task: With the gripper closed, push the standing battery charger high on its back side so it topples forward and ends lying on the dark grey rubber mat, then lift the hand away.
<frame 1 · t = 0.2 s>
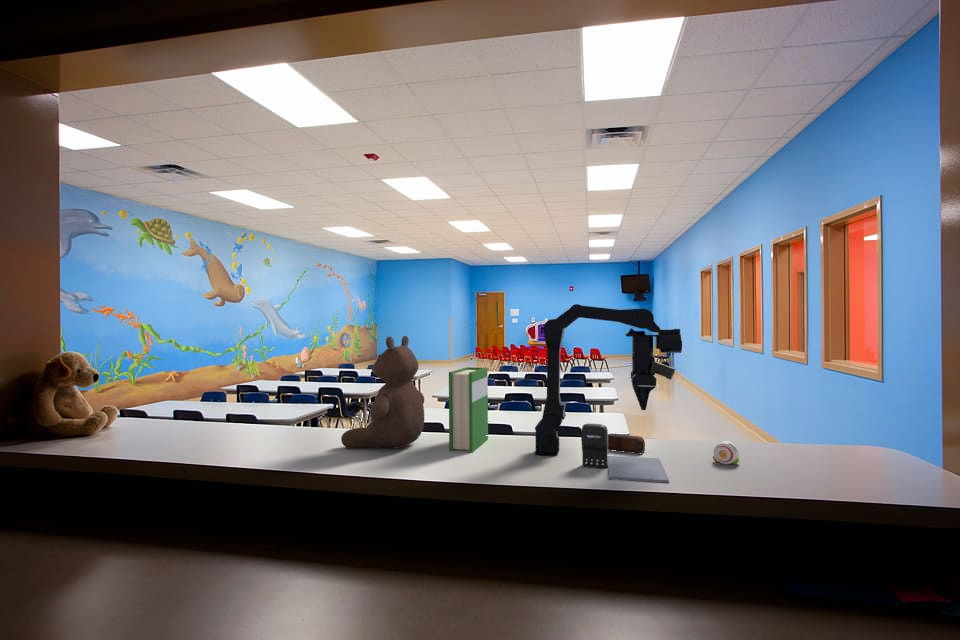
hand: (642, 407, 142), 14 cm above the table, tool pointing down, fingers open, 9 cm apart
hardback book: (469, 445, 159), on the table
battery charger: (594, 467, 134), on the table
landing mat: (635, 469, 131), on the table
stuffed bear: (385, 445, 160), on the table
sushi roll: (726, 463, 136), on the table
brick: (625, 452, 150), on the table
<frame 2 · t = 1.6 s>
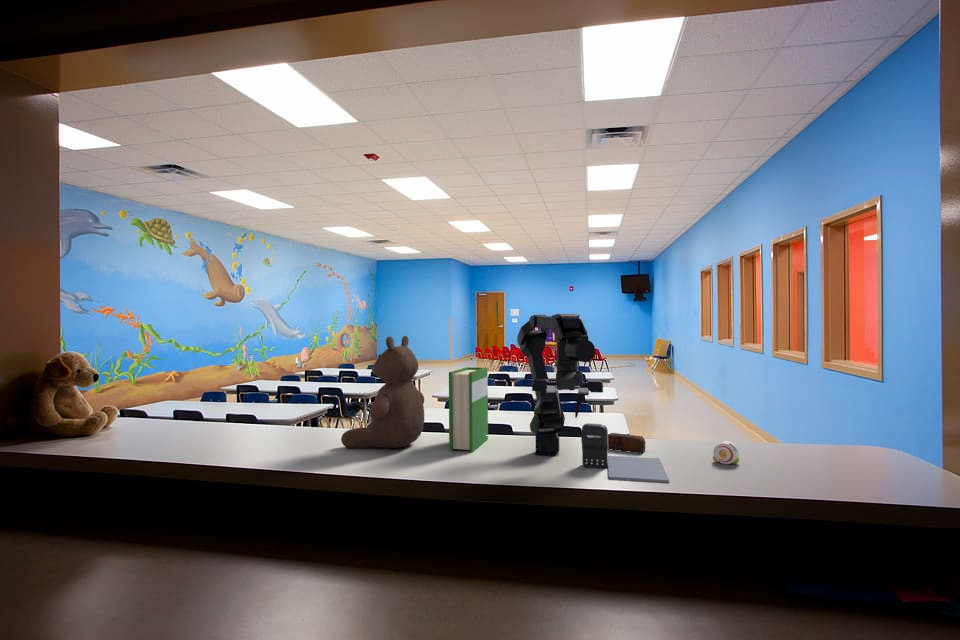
hand: (567, 417, 135), 13 cm above the table, tool pointing down, fingers open, 4 cm apart
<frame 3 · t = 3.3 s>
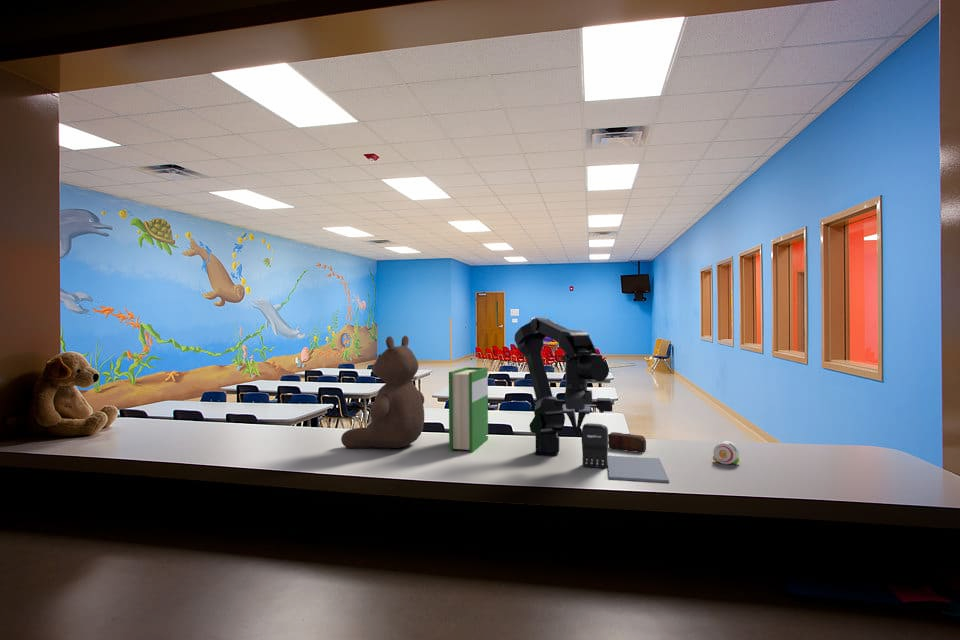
hand: (576, 435, 135), 8 cm above the table, tool pointing down, fingers closed
battery charger: (594, 467, 134), on the table, touching gripper
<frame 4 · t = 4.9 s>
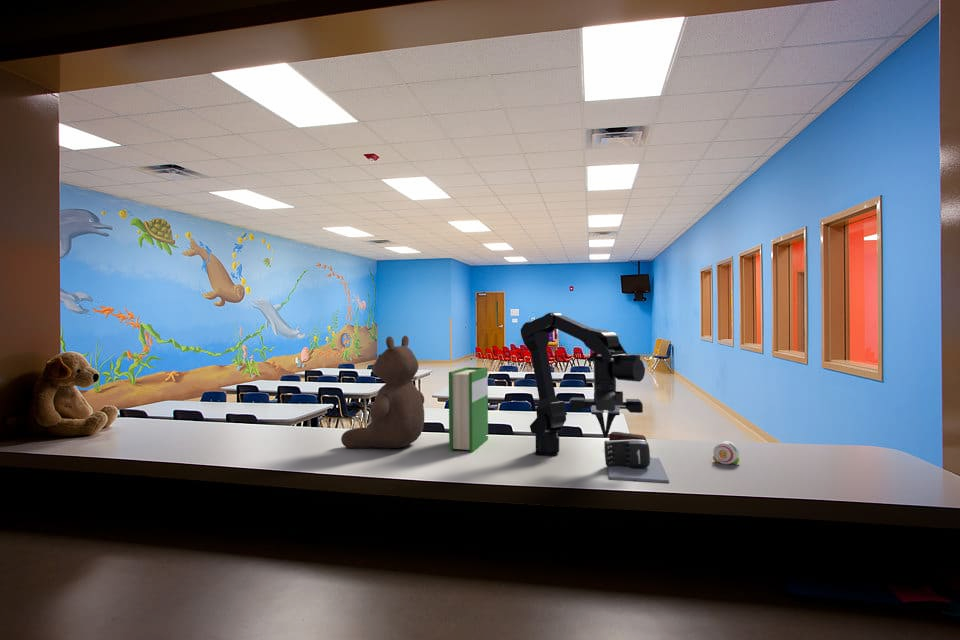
hand: (605, 437, 133), 8 cm above the table, tool pointing down, fingers closed
battery charger: (603, 454, 132), point 4 cm above the table, touching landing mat
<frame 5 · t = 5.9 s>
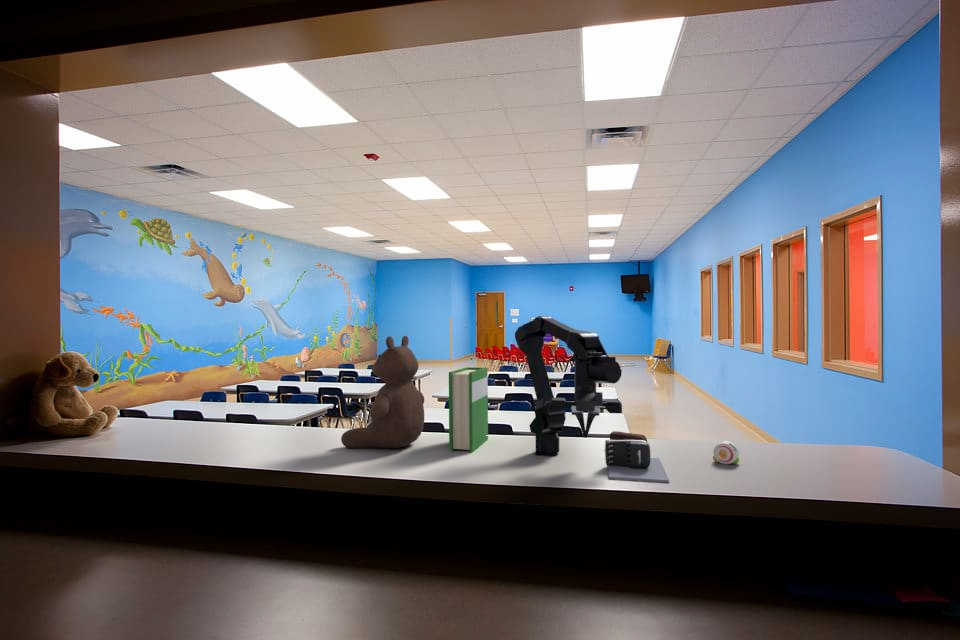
hand: (585, 437, 134), 8 cm above the table, tool pointing down, fingers closed
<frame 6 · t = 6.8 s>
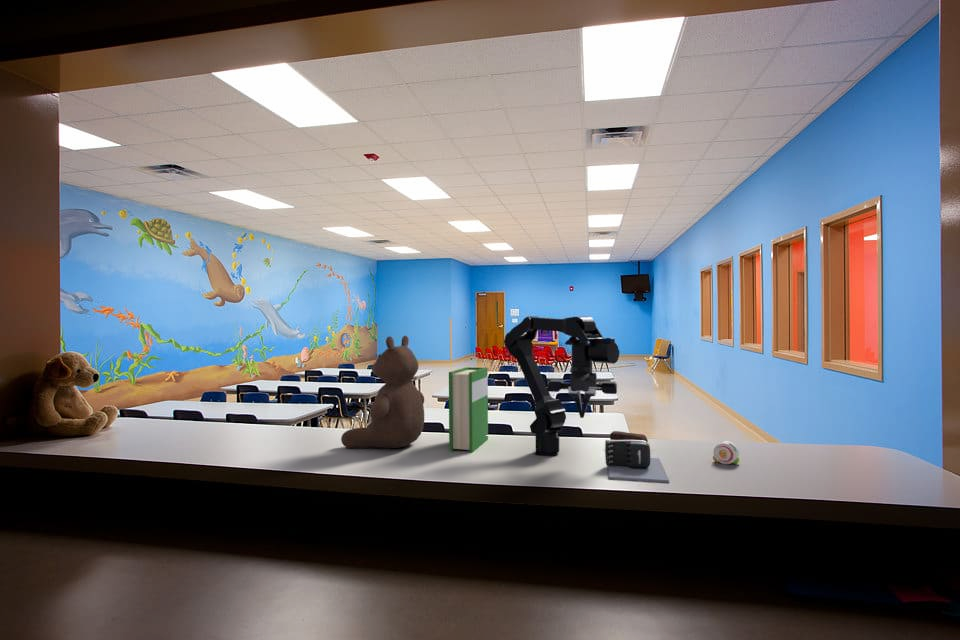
hand: (582, 417, 139), 12 cm above the table, tool pointing down, fingers closed
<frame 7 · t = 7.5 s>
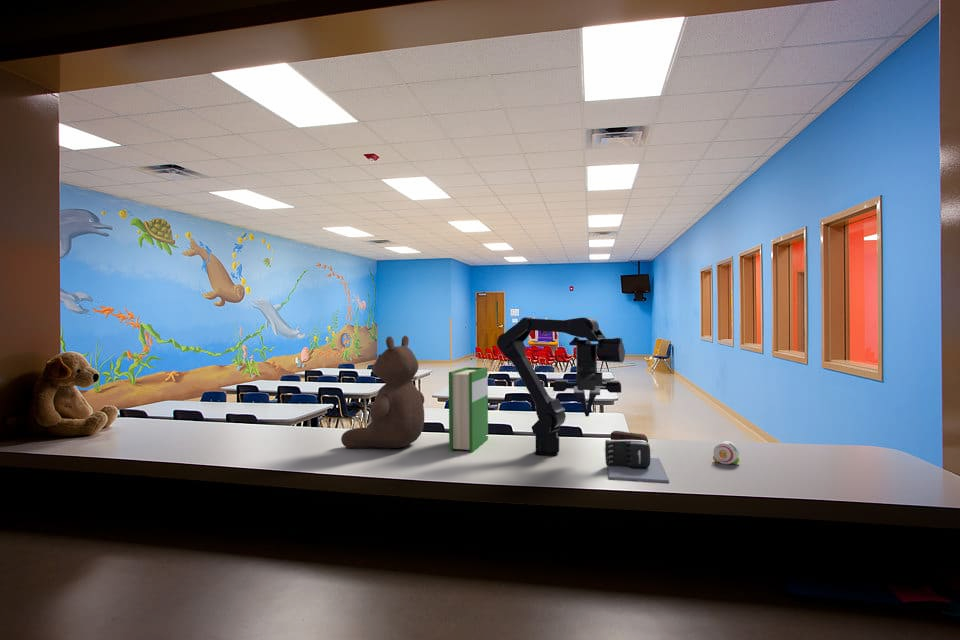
hand: (587, 416, 142), 12 cm above the table, tool pointing down, fingers closed
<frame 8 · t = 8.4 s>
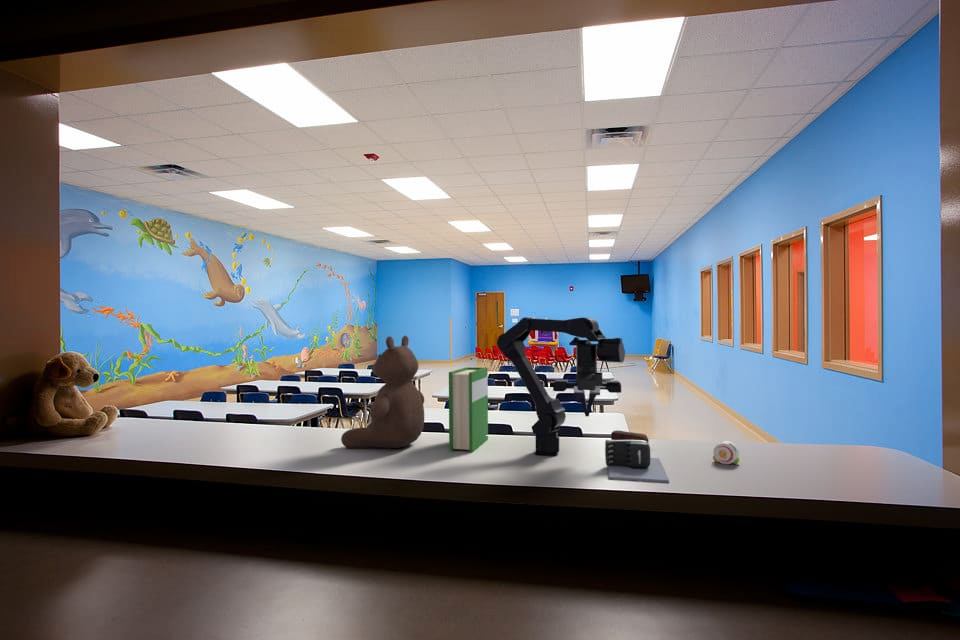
hand: (587, 416, 142), 12 cm above the table, tool pointing down, fingers closed
at the end: battery charger tilted 89°; battery charger inside the target area (4.9 cm from its centre), point 4.0 cm above the table; battery charger touching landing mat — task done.
